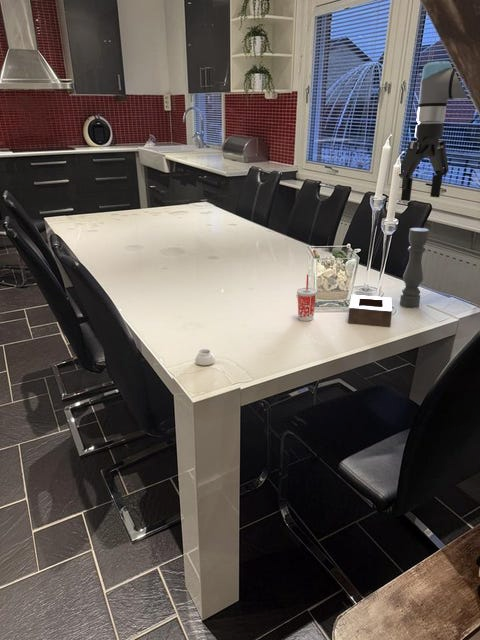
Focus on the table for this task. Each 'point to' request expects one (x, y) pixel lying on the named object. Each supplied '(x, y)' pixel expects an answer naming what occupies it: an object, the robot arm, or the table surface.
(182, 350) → the table surface
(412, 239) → the candle holder
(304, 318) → the beverage cup
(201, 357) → the white jar
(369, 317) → the block
